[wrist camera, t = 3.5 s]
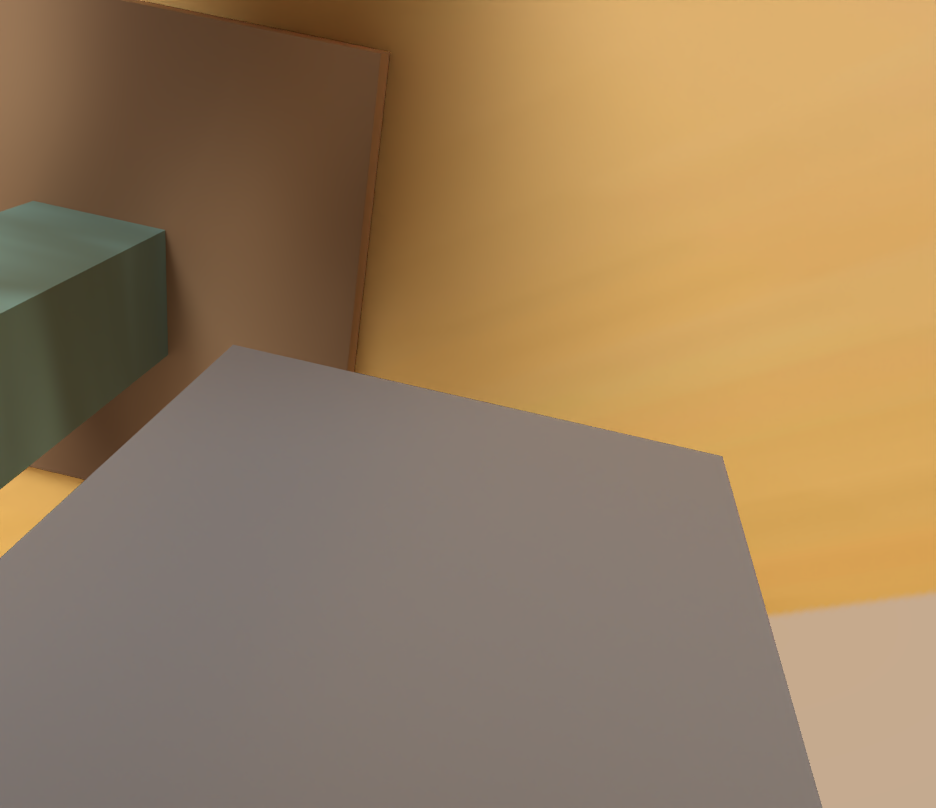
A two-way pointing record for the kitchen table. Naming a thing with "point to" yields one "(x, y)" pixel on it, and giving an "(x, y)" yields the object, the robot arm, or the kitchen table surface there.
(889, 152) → the kitchen table surface
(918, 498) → the kitchen table surface
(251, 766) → the grey rectangular block
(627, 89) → the kitchen table surface
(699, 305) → the kitchen table surface
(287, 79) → the brown flat panel
